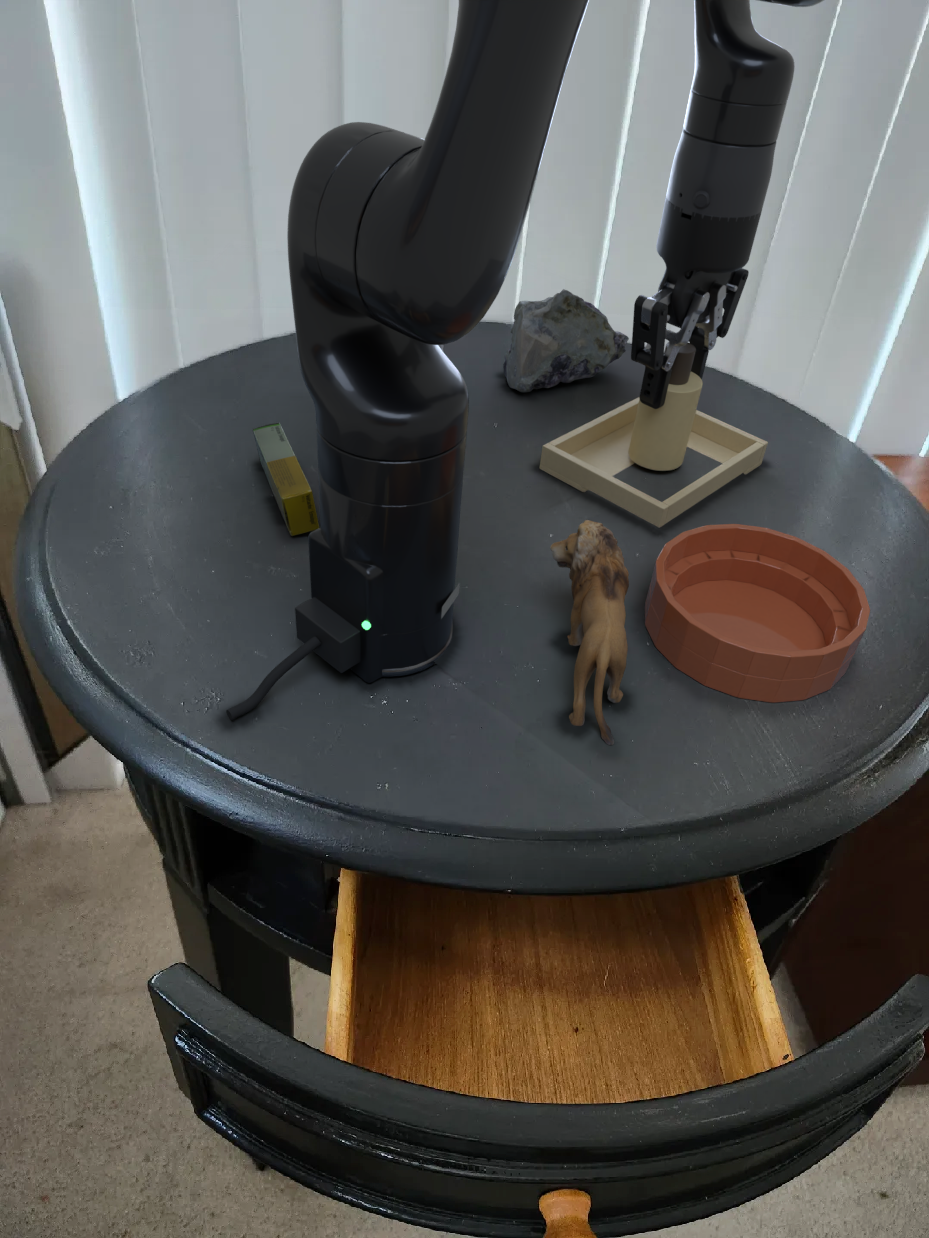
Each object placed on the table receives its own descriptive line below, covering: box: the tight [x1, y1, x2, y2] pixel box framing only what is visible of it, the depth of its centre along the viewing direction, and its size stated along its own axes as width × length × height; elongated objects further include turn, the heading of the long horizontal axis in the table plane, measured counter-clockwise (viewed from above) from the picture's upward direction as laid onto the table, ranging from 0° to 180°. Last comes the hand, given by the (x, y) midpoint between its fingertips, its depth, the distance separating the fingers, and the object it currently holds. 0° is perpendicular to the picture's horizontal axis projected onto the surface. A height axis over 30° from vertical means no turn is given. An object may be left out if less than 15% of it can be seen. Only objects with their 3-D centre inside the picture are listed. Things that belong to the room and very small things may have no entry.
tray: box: [538, 396, 769, 528], centre depth 87 cm, size 18×14×2 cm
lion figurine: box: [549, 519, 630, 746], centre depth 63 cm, size 15×5×9 cm, turn 6°
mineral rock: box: [502, 288, 630, 393], centre depth 97 cm, size 13×11×10 cm
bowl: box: [644, 523, 871, 704], centre depth 69 cm, size 15×15×5 cm
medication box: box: [252, 422, 320, 537], centre depth 79 cm, size 12×3×4 cm, turn 21°
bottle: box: [628, 341, 704, 472], centre depth 84 cm, size 5×5×11 cm
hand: (669, 394), depth 83 cm, fingers closed on bottle, 5 cm apart
